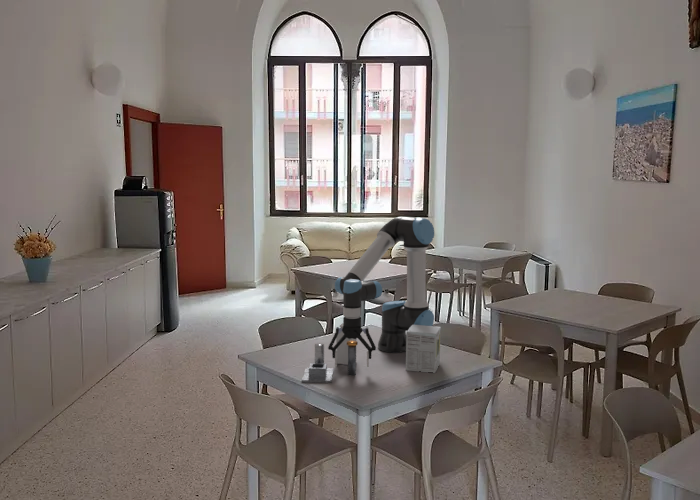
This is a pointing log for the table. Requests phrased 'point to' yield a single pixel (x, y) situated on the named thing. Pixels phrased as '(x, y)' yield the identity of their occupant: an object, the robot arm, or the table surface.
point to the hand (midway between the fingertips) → (351, 365)
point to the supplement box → (423, 348)
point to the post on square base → (318, 368)
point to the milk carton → (342, 349)
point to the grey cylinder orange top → (352, 357)
